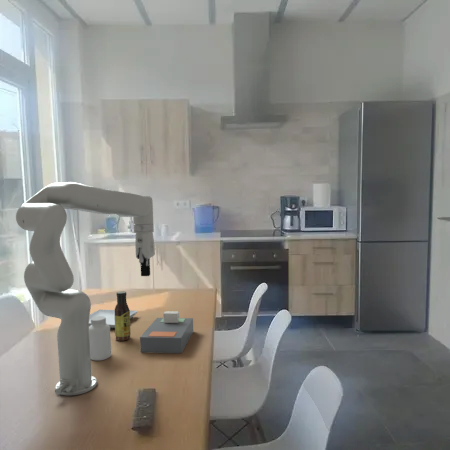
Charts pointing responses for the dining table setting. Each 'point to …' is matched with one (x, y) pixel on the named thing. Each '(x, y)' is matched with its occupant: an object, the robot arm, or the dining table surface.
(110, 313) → the salad plate
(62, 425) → the dining table surface
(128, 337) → the sauce bottle
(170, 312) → the switch knob
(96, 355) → the pill bottle
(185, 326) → the switch box
